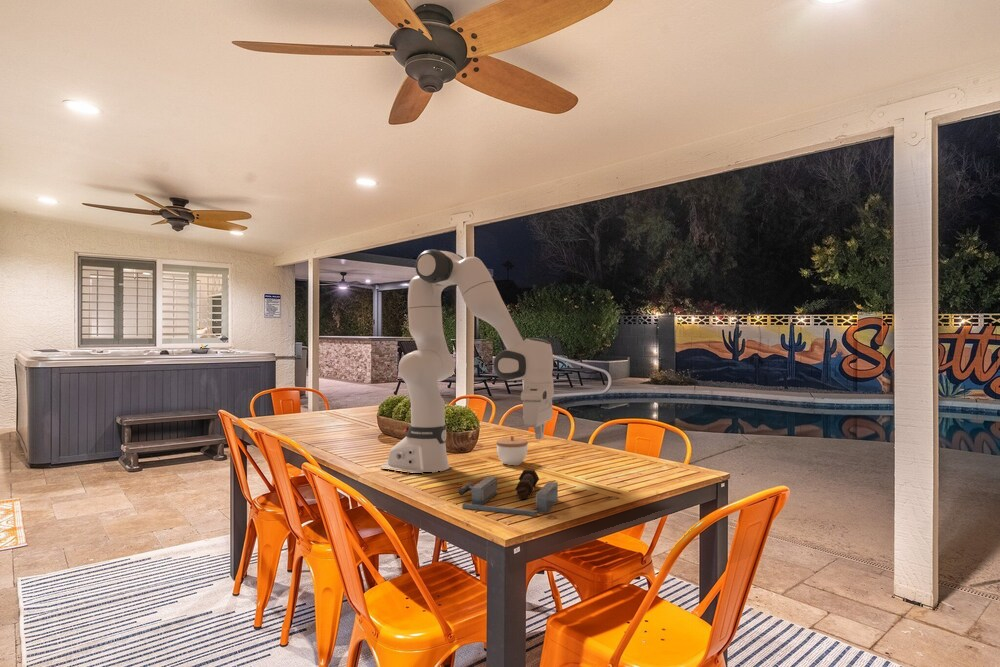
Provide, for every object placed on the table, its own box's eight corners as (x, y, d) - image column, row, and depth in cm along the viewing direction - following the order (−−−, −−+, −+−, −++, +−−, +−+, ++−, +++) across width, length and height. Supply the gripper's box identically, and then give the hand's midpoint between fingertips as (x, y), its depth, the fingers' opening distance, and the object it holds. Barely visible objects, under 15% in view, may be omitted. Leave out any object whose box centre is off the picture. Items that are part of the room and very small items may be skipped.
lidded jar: (494, 466, 188) (494, 438, 188) (498, 459, 198) (498, 433, 198) (526, 467, 186) (526, 439, 187) (528, 460, 197) (528, 433, 197)
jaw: (454, 503, 145) (454, 485, 145) (471, 491, 156) (471, 475, 156) (482, 506, 143) (482, 488, 143) (497, 493, 154) (497, 477, 154)
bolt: (519, 507, 149) (526, 490, 164) (536, 499, 148) (541, 482, 163) (508, 488, 149) (516, 472, 164) (525, 479, 148) (531, 464, 163)
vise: (462, 508, 141) (462, 489, 141) (483, 493, 155) (483, 476, 155) (543, 516, 134) (543, 497, 135) (557, 500, 148) (557, 482, 148)
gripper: (537, 389, 179) (538, 432, 179) (518, 394, 159) (519, 443, 159) (557, 389, 177) (557, 433, 176) (540, 395, 157) (541, 444, 157)
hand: (539, 438), depth 168 cm, fingers closed
